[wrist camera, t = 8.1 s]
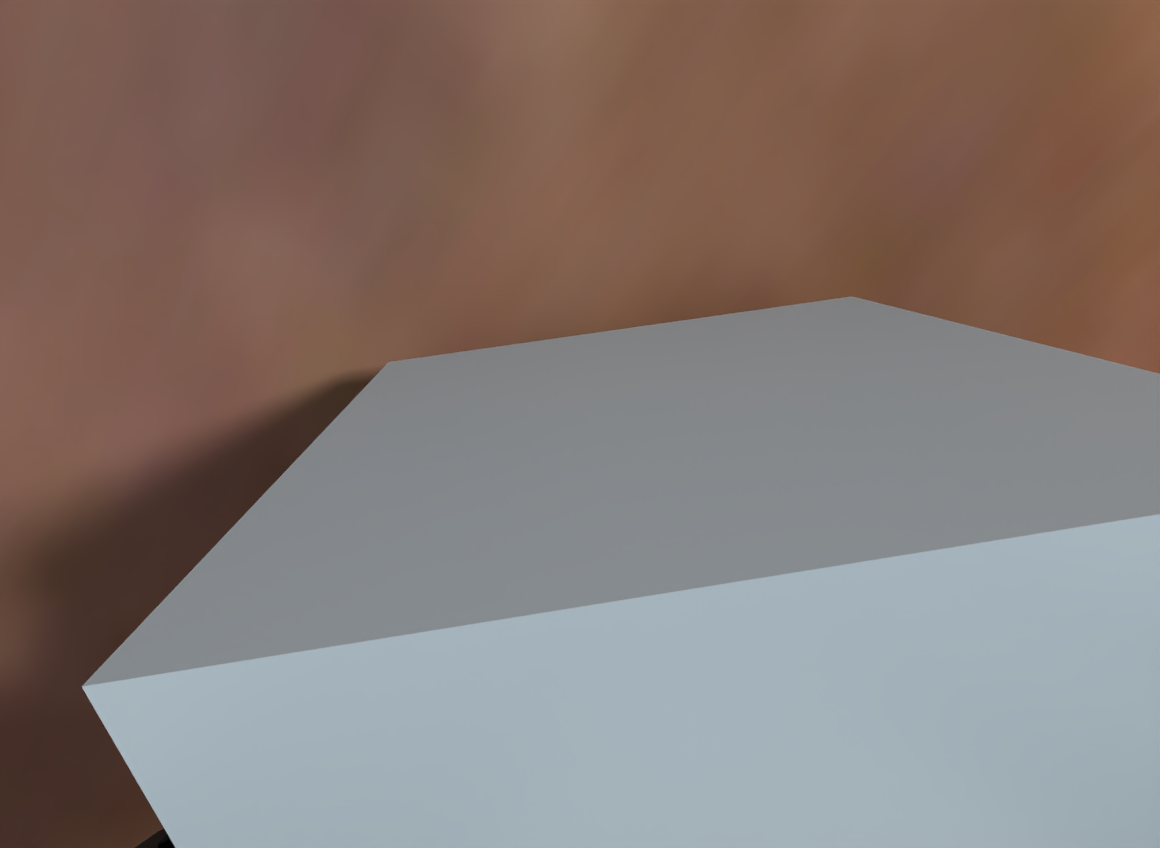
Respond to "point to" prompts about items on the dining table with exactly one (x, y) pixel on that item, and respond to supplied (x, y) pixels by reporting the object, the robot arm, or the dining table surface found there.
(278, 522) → the pale blue cuboid
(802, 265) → the dining table surface
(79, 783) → the dining table surface
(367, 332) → the dining table surface
